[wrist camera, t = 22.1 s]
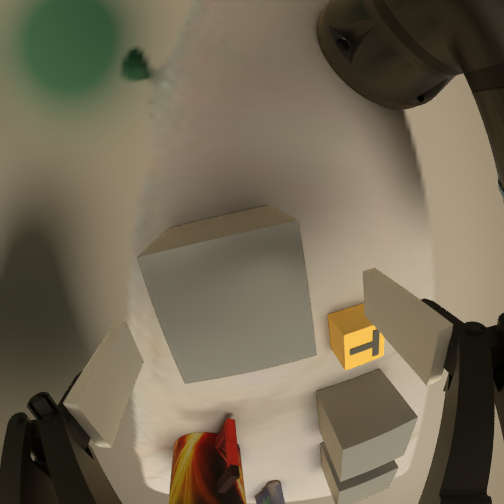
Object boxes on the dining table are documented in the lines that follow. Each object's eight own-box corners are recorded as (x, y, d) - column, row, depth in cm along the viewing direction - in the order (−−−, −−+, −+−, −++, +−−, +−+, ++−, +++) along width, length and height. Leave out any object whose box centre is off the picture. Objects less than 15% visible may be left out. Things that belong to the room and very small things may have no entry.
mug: (233, 410, 30) (241, 490, 18) (242, 463, 34) (250, 524, 22) (158, 412, 29) (145, 488, 18) (182, 465, 33) (179, 525, 21)
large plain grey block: (320, 443, 34) (339, 491, 24) (372, 424, 34) (398, 467, 25) (321, 466, 36) (337, 508, 27) (368, 450, 37) (388, 488, 27)
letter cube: (327, 314, 28) (344, 336, 23) (364, 302, 28) (385, 321, 24) (330, 347, 29) (345, 371, 25) (365, 335, 29) (384, 356, 25)
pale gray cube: (316, 390, 30) (342, 450, 21) (379, 368, 31) (417, 416, 21) (319, 430, 33) (340, 481, 23) (375, 409, 33) (403, 454, 24)
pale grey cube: (169, 228, 24) (137, 257, 14) (267, 205, 24) (297, 220, 15) (195, 317, 26) (184, 383, 17) (284, 297, 27) (316, 355, 17)
